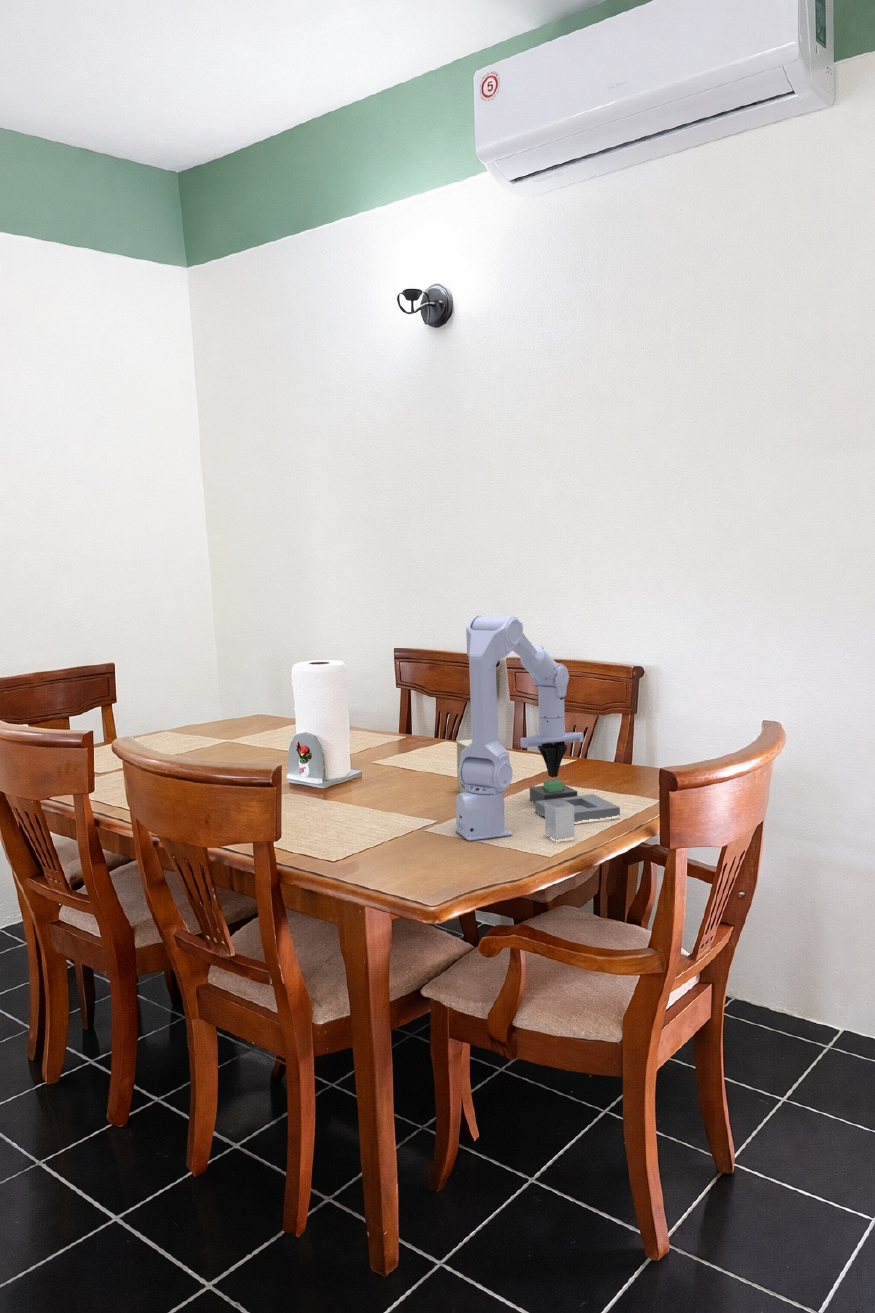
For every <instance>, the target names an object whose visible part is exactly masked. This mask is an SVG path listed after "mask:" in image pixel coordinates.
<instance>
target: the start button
mask: <svg viewBox="0 0 875 1313" xmlns="http://www.w3.org/2000/svg"><path fill="white" fill-rule="evenodd" d="M563 784H564V783H563V781H561V780H560V779H558V778H555V779H546V780H543V786H544V790H546V791H548V792H555V791H563Z"/></svg>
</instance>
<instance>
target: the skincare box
mask: <svg viewBox="0 0 875 1313" xmlns="http://www.w3.org/2000/svg"><path fill="white" fill-rule="evenodd" d="M471 743H472V738H470V739H464V740H463V739H462V740H456V763H457V764H456V766H457V767H456V770H457V772H456V774H457V777H456V778H457V792H459V793H464V792H466V791H468V790H465V785H463V784H462V783H461V781H460V779H459V774H458V769H459V765H460V760H461V752H462V750H463V749H464V748H466V747H467V746H468V745H469V744H471Z"/></svg>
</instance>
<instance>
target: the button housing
mask: <svg viewBox="0 0 875 1313" xmlns="http://www.w3.org/2000/svg"><path fill="white" fill-rule="evenodd" d="M574 796H578V790H575V789H573V788H571V787H569V786H568V785H566V784H564V783H563V791H555V792H548V791H546V790H544V785H537V786H529V801H531V802H532V801H533V803H534V802H535V801H541V800H549V799H558V798H566V797H574Z"/></svg>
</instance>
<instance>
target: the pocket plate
mask: <svg viewBox="0 0 875 1313" xmlns="http://www.w3.org/2000/svg"><path fill="white" fill-rule="evenodd" d="M555 800H565V801H567V802H568V803H570V804H572V805H574V822H578V821H582V820H589V819H600V818H606V817H612V816H617V815H620V816H621V808H620V806H619V805H616V804H614V803H612V802H610V801H608V800H606V799H604V798H603V797H600V796H599V795H596V794H595V793H594V794H593V793H592V794H585V795H577V796H574V797H566V798H558V799H549V800H541V801H535V803H534V806H535V807H534V811H535V812H534V813H536V814H537V813H539V814H541V815H542V816H544V817H545V802H547V801H555ZM539 814H538V815H539ZM542 816H541V817H542ZM544 817H543V818H544Z"/></svg>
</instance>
